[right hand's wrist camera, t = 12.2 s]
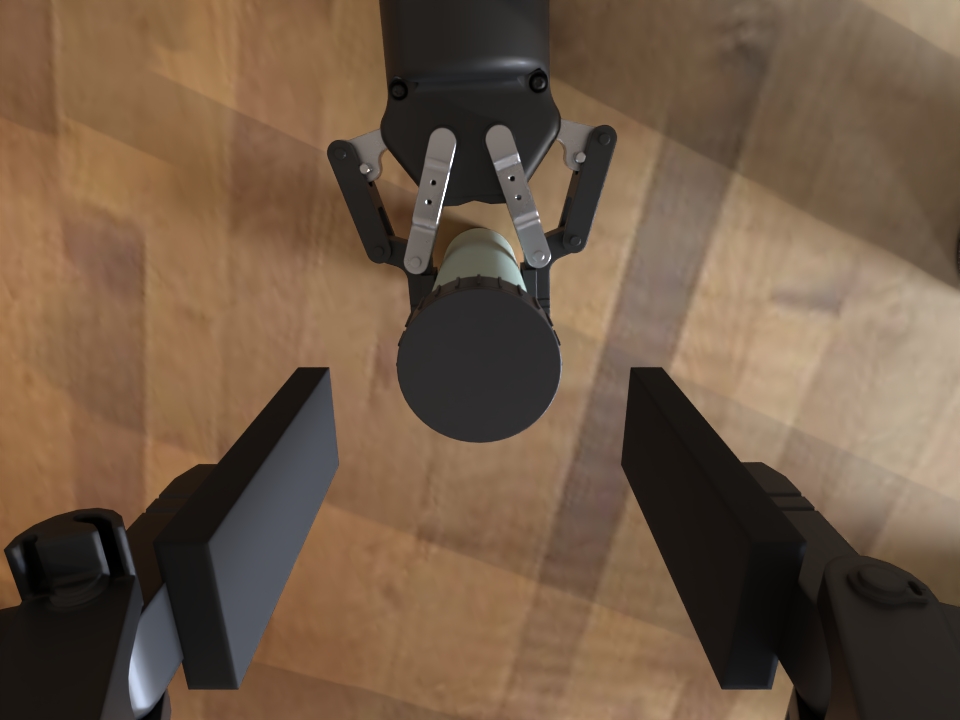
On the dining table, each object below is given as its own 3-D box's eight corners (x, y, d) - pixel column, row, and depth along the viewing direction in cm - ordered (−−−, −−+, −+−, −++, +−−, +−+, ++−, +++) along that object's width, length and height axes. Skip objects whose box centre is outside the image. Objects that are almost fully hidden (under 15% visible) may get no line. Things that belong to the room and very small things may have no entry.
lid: (463, 241, 19) (461, 250, 17) (587, 335, 20) (598, 354, 18) (372, 363, 20) (361, 384, 18) (493, 445, 21) (494, 472, 19)
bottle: (472, 212, 35) (465, 269, 17) (529, 257, 35) (576, 352, 18) (429, 270, 36) (383, 377, 19) (486, 312, 37) (491, 449, 20)
